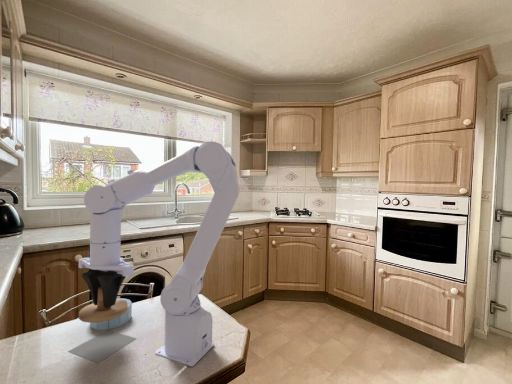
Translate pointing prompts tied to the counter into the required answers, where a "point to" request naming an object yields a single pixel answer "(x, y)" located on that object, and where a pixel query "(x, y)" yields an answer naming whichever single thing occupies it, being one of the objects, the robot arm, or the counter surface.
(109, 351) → the mat
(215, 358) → the counter surface
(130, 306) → the bowl
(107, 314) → the lid
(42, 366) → the counter surface
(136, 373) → the counter surface
